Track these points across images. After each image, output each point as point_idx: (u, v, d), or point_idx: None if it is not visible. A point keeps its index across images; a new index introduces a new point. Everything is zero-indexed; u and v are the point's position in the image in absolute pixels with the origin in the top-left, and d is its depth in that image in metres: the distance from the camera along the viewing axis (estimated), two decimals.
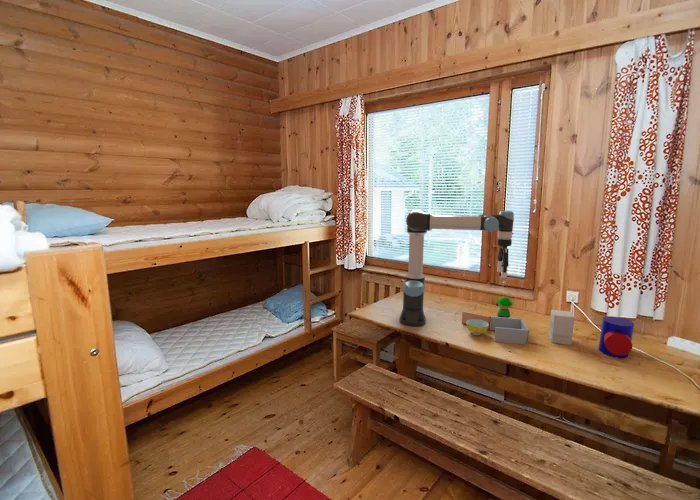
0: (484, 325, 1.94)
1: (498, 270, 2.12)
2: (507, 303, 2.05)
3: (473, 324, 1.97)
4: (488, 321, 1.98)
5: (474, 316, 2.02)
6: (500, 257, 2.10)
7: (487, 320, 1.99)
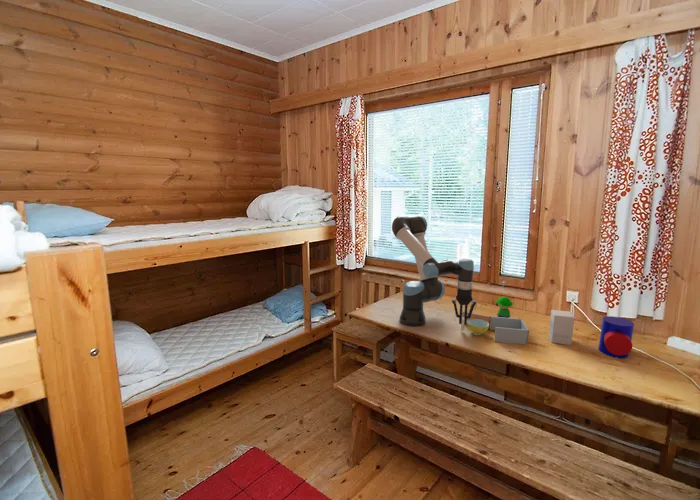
0: (485, 325, 1.94)
1: None
2: (507, 303, 2.05)
3: (474, 324, 1.97)
4: (488, 321, 1.98)
5: (474, 316, 2.02)
6: None
7: (487, 320, 1.99)
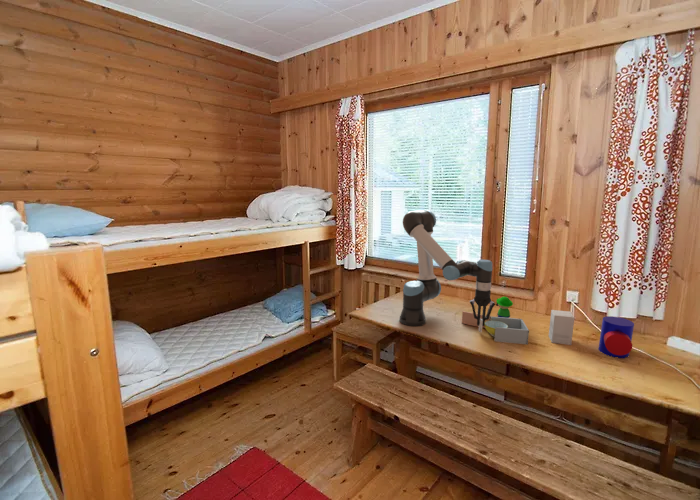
0: (503, 327, 1.92)
1: None
2: (507, 303, 2.05)
3: (492, 326, 1.95)
4: None
5: None
6: (482, 313, 1.91)
7: (487, 320, 1.99)
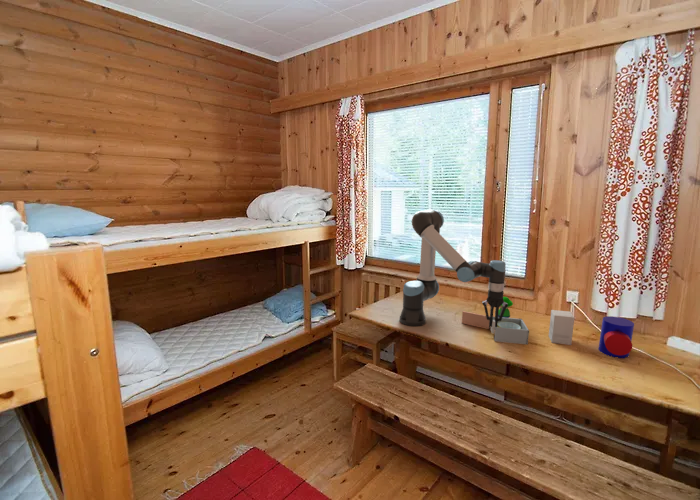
0: (516, 328, 1.90)
1: None
2: (507, 303, 2.05)
3: (504, 327, 1.94)
4: (488, 321, 1.98)
5: (474, 316, 2.02)
6: (495, 314, 1.89)
7: (487, 320, 1.99)
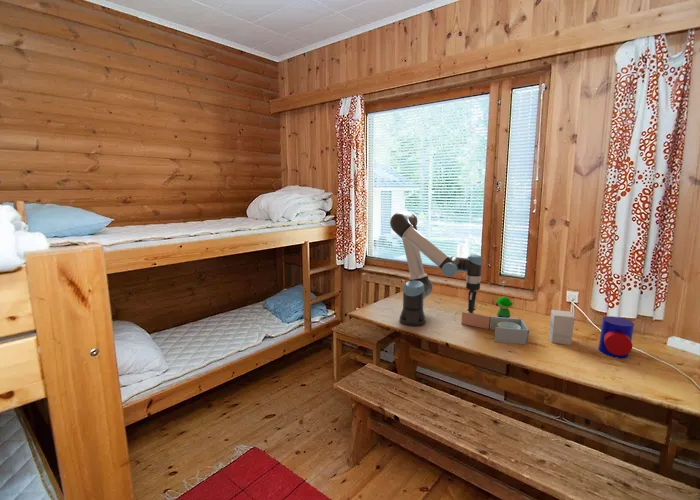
0: (516, 328, 1.90)
1: None
2: (507, 303, 2.05)
3: (504, 327, 1.94)
4: (488, 321, 1.98)
5: (474, 316, 2.02)
6: None
7: (487, 320, 1.99)
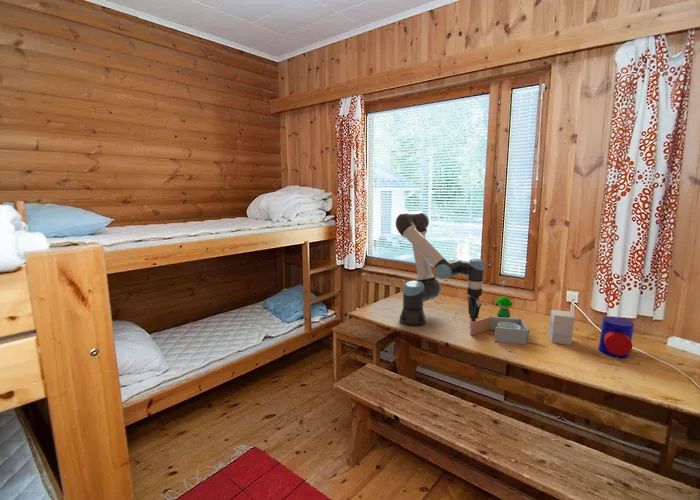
0: (516, 328, 1.90)
1: None
2: (507, 303, 2.05)
3: (504, 327, 1.94)
4: (489, 321, 1.98)
5: (480, 322, 1.94)
6: None
7: (489, 321, 1.97)
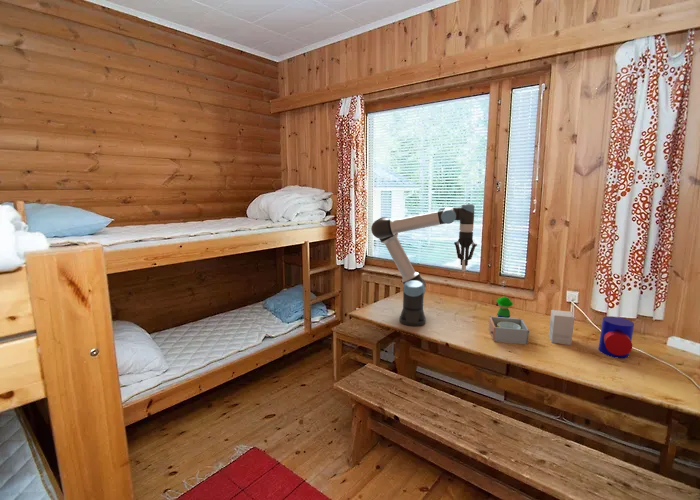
0: (516, 328, 1.90)
1: None
2: (507, 303, 2.05)
3: (504, 327, 1.94)
4: (490, 322, 1.98)
5: None
6: (463, 254, 2.08)
7: (490, 321, 1.97)
